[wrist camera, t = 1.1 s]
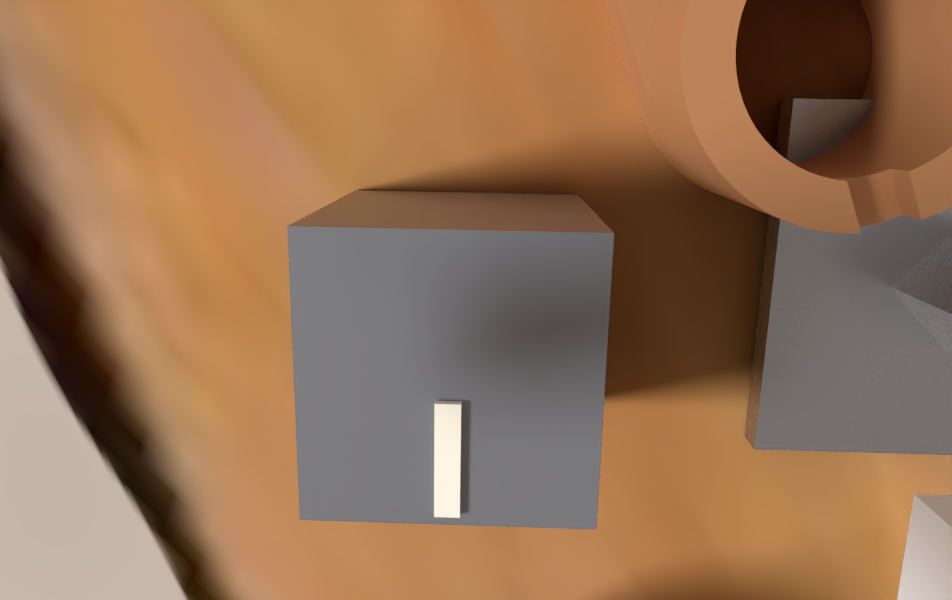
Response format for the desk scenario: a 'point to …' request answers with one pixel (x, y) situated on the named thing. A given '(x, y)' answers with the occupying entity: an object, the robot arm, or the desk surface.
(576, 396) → the squarish grey box
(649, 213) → the desk surface
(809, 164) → the bracket
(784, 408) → the shaft base
